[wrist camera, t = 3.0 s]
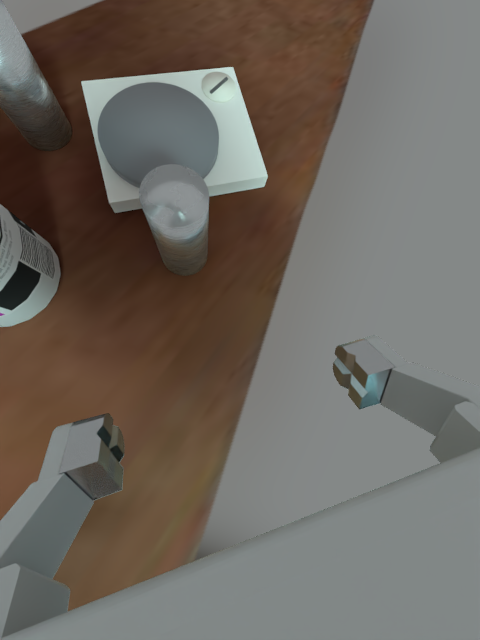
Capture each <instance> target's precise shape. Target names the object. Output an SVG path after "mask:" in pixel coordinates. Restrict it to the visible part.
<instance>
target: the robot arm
mask: <svg viewBox="0 0 480 640" xmlns="http://www.w3.org/2000/svg"><path fill="white" fill-rule="evenodd" d="M335 355H336V356H337V359H336V360H335V361H334V363H333V371H334V375H335V377H336V379H337V381H338V382H339V384H340V385H341V386H342V387H344V388H347V389H348V395H349V397H350V398H351V399H352V401H353V402H354V403H355V405H356V406H357V407H358V408H359V409H363V408H365V407H369V406H372V405H376V404H379V403H381V405H382V406H384V407H386V408H388V409H390V410H391V411H393V412H395V413H396V414H398V415H400V416H402V417H404V418H405V419H407V420H408V421H410V422H412V423H414V424H415V425H417V426H419V427H420V428H422V429H424V430H426V431H428V432H429V433H431V434H433V435H434V436H436V438H435V439H434V441H433V442H432V444H431V446H430V451H431V452H432V454H433V455H434V456H435V457H436V458H437V459H438V461H439V462H440V464H437V465H435V466H432V467H430V468H427V469H425V470H422V471H420V472H417V473H415V474H412V475H409V476H407V477H404V478H402V479H399V480H397V481H395V482H392V483H389V484H387V485H384V486H382V487H380V488H377V489H374V490H372V491H369V492H367V493H364V494H362V495H359V496H357V497H355V498H352V499H349V500H347V501H344V502H342V503H339V504H337V505H334V506H332V507H329V508H327V509H324V510H322V511H319V512H317V513H314V514H312V515H309V516H307V517H304V518H302V519H299V520H297V521H294V522H291V523H289V524H287V525H284V526H281V527H279V528H277V529H274V530H271V531H269V532H266V533H264V534H261V535H259V536H256V537H254V538H251V539H249V540H246V541H244V542H241V543H239V544H236V545H234V546H231V547H229V548H226V549H224V550H221V551H219V552H217V553H214V554H211V555H209V556H206V557H204V558H202V559H199V560H196V561H194V562H191V563H189V564H186V565H184V566H181V567H179V568H176V569H174V570H171V571H169V572H166V573H163V574H161V575H158V576H156V577H153V578H151V579H148V580H146V581H143V582H141V583H138V584H136V585H133V586H131V587H128V588H126V589H123V590H121V591H118V592H116V593H113V594H111V595H108V596H106V597H103V598H101V599H98V600H96V601H93V602H91V603H88V604H86V605H83V606H81V607H78V608H76V609H73V610H71V611H68V612H67V609H68V602H69V595H70V589H69V588H68V586H67V585H64V584H62V583H60V582H58V581H55V580H53V577H54V575H55V573H56V571H57V570H58V568H59V566H60V564H61V562H62V560H63V558H64V557H65V555H66V553H67V551H68V549H69V547H70V545H71V544H72V542H73V540H74V538H75V536H76V534H77V533H78V531H79V529H80V527H81V525H82V523H83V521H84V520H85V518H86V516H87V514H88V512H89V510H90V508H91V507H92V505H93V503H94V501H93V500H96V499H99V498H101V497H104V496H107V495H110V494H112V493H115V492H118V491H120V490H122V483H123V467H122V466H121V465H120V463H119V462H120V461H121V459H122V458H123V456H124V447H125V446H124V439H123V435H122V432H121V430H120V429H119V427H117V426H114V425H113V418H112V417H111V415H110V414H109V413H107V414H103V415H99V416H95V417H91V418H88V419H84V420H80V421H76V422H73V423H70V424H66V425H62V426H59V427H56V428H55V430H54V431H53V433H52V436H51V439H50V442H49V445H48V449H47V452H46V455H45V459H44V462H43V465H42V469H41V472H40V475H39V479H38V481H37V482H34V483H32V484H31V485H30V486H29V488H28V489H27V490H26V491H25V492H24V493H23V495H22V496H21V497H20V498H19V499H18V501H17V502H16V503H15V504H14V505H13V507H12V508H11V509H10V510H9V511H8V513H7V514H6V515H5V516H4V517H3V518H2V520H1V521H0V640H480V386H478V385H475V384H472V383H469V382H467V381H464V380H461V379H458V378H455V377H453V376H450V375H447V374H444V373H441V372H439V371H436V370H433V369H430V368H427V367H424V366H422V365H419V364H416V363H408V362H407V361H406V360H405V359H403V358H402V357H401V356H400V355H399V354H398V353H397V352H396V351H394V350H393V349H392V348H391V347H390V346H389V345H388V344H386V343H385V342H384V341H383V340H382V339H381V338H380V337H378V336H376V335H373V336H369V337H366V338H363V339H359V340H355V341H352V342H349V343H346V344H342V345H339V346H338V347H337V348H336V350H335Z"/></svg>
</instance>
